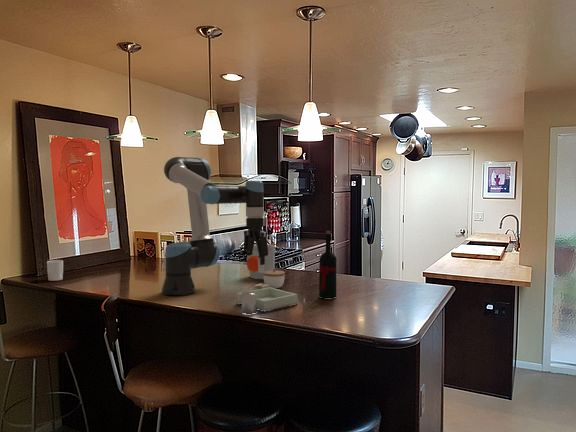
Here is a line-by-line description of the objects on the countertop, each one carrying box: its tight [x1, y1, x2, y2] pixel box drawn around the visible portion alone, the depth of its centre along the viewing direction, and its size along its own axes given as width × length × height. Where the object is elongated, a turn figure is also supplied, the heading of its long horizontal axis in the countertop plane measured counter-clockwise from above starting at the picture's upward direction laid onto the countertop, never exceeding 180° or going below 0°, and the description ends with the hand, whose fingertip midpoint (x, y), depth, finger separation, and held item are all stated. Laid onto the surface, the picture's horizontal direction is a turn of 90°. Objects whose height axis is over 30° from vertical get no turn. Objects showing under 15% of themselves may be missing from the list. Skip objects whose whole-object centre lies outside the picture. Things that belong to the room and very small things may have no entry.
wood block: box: [253, 283, 269, 290], centre depth 208 cm, size 5×5×5 cm
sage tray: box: [237, 287, 298, 310], centre depth 192 cm, size 18×18×4 cm
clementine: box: [246, 256, 258, 272], centre depth 193 cm, size 8×7×7 cm
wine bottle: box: [318, 230, 337, 298], centre depth 202 cm, size 8×10×30 cm
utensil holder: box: [249, 243, 276, 280], centre depth 251 cm, size 15×15×18 cm
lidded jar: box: [263, 268, 286, 289], centre depth 224 cm, size 11×11×9 cm
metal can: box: [241, 291, 258, 314], centre depth 178 cm, size 6×6×8 cm
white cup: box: [46, 259, 64, 282], centre depth 242 cm, size 8×8×10 cm
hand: (255, 271), depth 192 cm, fingers closed on clementine, 7 cm apart
